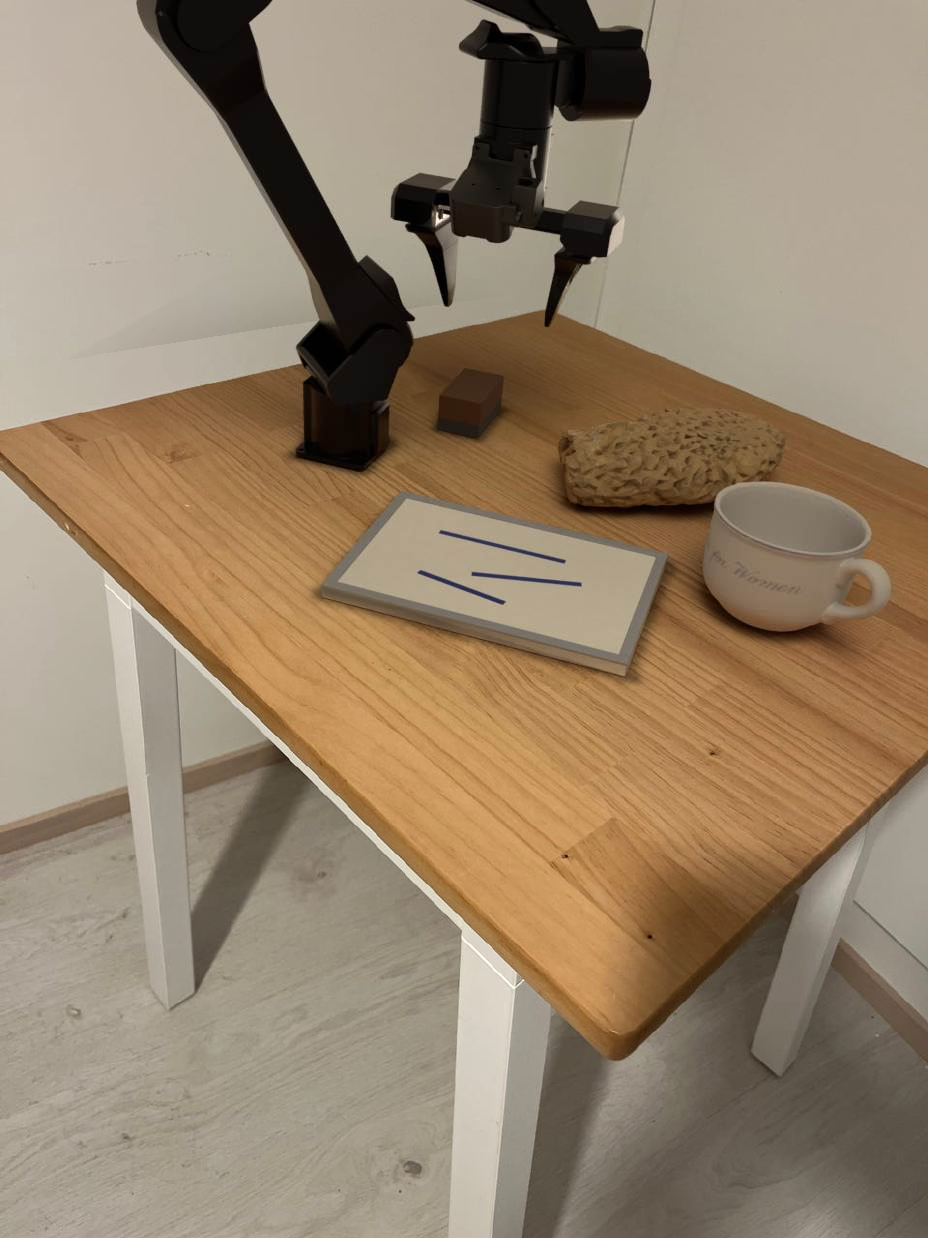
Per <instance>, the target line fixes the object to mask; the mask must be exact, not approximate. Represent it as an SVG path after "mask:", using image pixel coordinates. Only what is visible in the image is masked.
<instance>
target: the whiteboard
mask: <svg viewBox="0 0 928 1238" xmlns="http://www.w3.org/2000/svg"><path fill="white" fill-rule="evenodd" d="M669 554H670V553H668V552H664V551H661V550H657V549H652V548H648V547H643V546H639V545H635V544H630V543H627V542H622V541H617V540H614V539H609V538H605V537H600V536H597V535H592V534H588V533H583V532H580V531H576V530H572V529H571V530H570V529H566V528H562V527H559V526H558V527H557V526H554V525H550V524H546V523H540V522H536V521H532V520H528V519H524V518H519V517H515V516H511V515H507V514H503V513H498V512H494V511H489V510H486V509H481V508H476V507H472V506H468V505H465V504H459V503H456V502H452V501H448V500H443V499H439V498H434V497H430V496H426V495H422V494H417V493H413V492H408V491H404V490H400V491H399V492H398V494H397V495H396V496H395V497H394V498H393V499H392V500H391V502H390V503H389V504H388V505H387V507H386V508H384V510H383V511H382V512H381V514H380V515H379V516H378V517H377V518H376V520H375V521H374V522H373V523H372V524H371V525H370V527H368V529H367V530H366V531H365V533H364V534H363V535H362V536H361V537H360V538H359V539H358V540H357V542H356V543H355V544H354V545H353V546H352V547H351V549H350V550H349V551H348V553H346V554H345V556H344V557H343V558H342V559H341V560H340V562H339V563H338V564H337V565H336V566H335V567H334V569H333V570H332V571H331V572H330V573H329V575H328V576H327V577H326V578H325V579H324V581H322V583H321V598H324V599H327V600H332V601H335V602H339V603H341V604H347V605H350V606H355V607H359V608H362V609H366V610H370V611H373V612H376V613H381V614H385V615H389V616H392V617H396V618H400V619H403V620H408V621H412V622H415V623H418V624H423V625H427V626H431V627H434V628H438V629H441V630H445V631H448V632H452V633H457V634H461V635H465V636H468V637H472V638H476V639H479V640H484V641H487V642H491V643H495V644H499V645H503V646H507V647H509V648H514V649H518V650H521V651H525V652H528V653H533V654H537V655H540V656H544V657H548V658H552V659H555V660H559V661H563V662H567V663H571V664H574V665H579V666H583V667H585V668H590V669H594V670H596V671H601V672H605V673H608V674H613V675H616V676H620V677H624V678H625V677H626V676H627V674H628V671H629V669H630V666H631V663H632V660H633V658H634V655H635V653H636V649H637V647H638V644H639V642H640V638H641V636H642V633H643V630H644V628H645V624H646V622H647V619H648V617H649V613H650V611H651V608H652V606H653V602H654V600H655V597H656V594H657V592H658V589H659V587H660V584H661V581H662V578H663V575H664V572H665V570H666V567H667V563H668V560H669Z"/></svg>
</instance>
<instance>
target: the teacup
mask: <svg viewBox="0 0 928 1238" xmlns="http://www.w3.org/2000/svg"><path fill="white" fill-rule="evenodd" d="M713 509H714V510H713V512H712V513H713V514H712V517H711V521H710V525H709V527H708V532H707V536H706V541H705V544H704V550H703V556H702V576H703V580H704V583H705V585H706V587H707V588H708V590H709V592H710V594H711V595H712V596H713V598H715V599H716V600H717V601H718V603H719V604H720V605H721V607H722V608H723V609H724V610H725V611H726V612H727V613H728V614H729V615H731V616H732V617H734V618H735V619H737V620H738V621H740V622H742V623H744V624H746V625H749V626H751V627H755V628H758V629H761V630H765V631H770V632H780V633H781V632H782V633H783V632H794V631H799V630H802V629H805V628H807V627H810V626H815V625H818V624H820V623H822V624H824V625H834V624H836V623H838V622H839V621H859V620H866V619H869V618H871V617H873V616H876V615H877V614H879V613H881V612H882V611H883V610H884V609H885V608H886V606H887V605H888V603H889V600H890V598H891V596H892V595H891V594H892V583H891V580H890V577H889V574H888V572H887V571H886V569H885V568H883V566H881V564H879V562H875V561H874V560H871V559H867V558H863V556H864V554H865V551H866V548H867V547H868V546H869V544H870V542H871V541H872V535H873V534H872V528H871V526H870V525H869V523H868V521H867V520H866V519H865V517H864V516H863V515H861V514H860V513H859V512H858V511H857V510H855V509H854V508H853V507H851V506H850V505H848V503H847V504H846V503H845V502H843V501H841V500H839V499H838V498H835V497H833V496H832V495H829V494H826V493H824V492H822V491H817V490H814V489H812V488H810V487H809V488H808V487H804V486H800V485H795V484H791V483H785V482H779V481H764V480H762V481H759V482H742V483H737V484H735V485H731V486H729V487H726V488H724V489H723V490H722V491H720V492H719V493H718V494H717V496H716V498H715V501H713ZM856 575H861V576H862V577H864V578H865V579H866V580H867V582H868V584H869V586H870V592H871V594H870V598H869V600H868V601H867V602H866V603H864V604H863V605H854V606H852V605H846V604H845V605H844V602H845V601H846V599H847V597H848V595H849V592H850V590H851V589H852V585H853V583H854V581H855V578H856Z"/></svg>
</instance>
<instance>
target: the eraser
mask: <svg viewBox="0 0 928 1238" xmlns="http://www.w3.org/2000/svg"><path fill="white" fill-rule="evenodd" d="M504 380H505V376H504V375H501V374H496V373H491V372H486V371H481V370H477V369H472V368H467V367H464V368H463V369H462V370H461V371H460V372H459V373H458V375H456V377H454V378H453V380H452V381H450V383H449V384H448V385H447V386H446V387H445V388H444V389H443V390H442V391H441V393H440V394H439V397H438V411H437V413H438V414H437V418H438V419H437V428H436V429H437V431H442V432H446V433H451V434H455V435H460V436H464V437H469V438H474V439H479V438H480V436H482V434H483V433H484V432H485V430H486V429H487V428H488V426H489V425H490V424H491V423H492V422H493V420H494V419H495V418H496V417H497V415H498V414H499V413H500V411H501V410H502V403H503V402H502V401H503V400H502V399H503V391H504V382H505V381H504Z"/></svg>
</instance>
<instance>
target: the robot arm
mask: <svg viewBox="0 0 928 1238" xmlns="http://www.w3.org/2000/svg"><path fill="white" fill-rule="evenodd" d="M464 1H465V2H468V3H469V4H471V5H474V6H476V7H478V8H480V9H482V10H485V11H487V12H489V13H492V14H494V15H496V16H498V17H501V18H505V19H508V20H510V21H513V22H515V23H520V24H522V25H524V26H525V27H526V28H527V29H528V30H529V31H530V32H515V31H514V32H511V31H502V30H501V29H500V27H499V25H498V24H497V23H496V22H494V21H492V20H491V21H490V20H487V19H485V18H482V19H481V20H480V21H479V23H478V25H477V26H476V28H475V29H474V30H473V31H472V32H470V33H469V34H468V35H466V36H465V38H463V39H462V40H461V41H460V42H459V43H458V50H459V51H460V52H461V53H462V54H466V55H468V56H470V57H473V58H475V59H477V60H481V61H483V60H484V65H483V77H482V88H481V89H482V92H481V105H480V116H479V127H478V134H477V135H476V136H474V137H473V144H472V147H471V157H470V159H469V161H468V164H467V167H466V168H465V169H464V170H462V172H461V174H460V175H459V177H458V178H452V177H447V176H441V175H437V174H429V173H424V172H418V173H416V174H414V175H413V176H410V177H408V178H406V179H405V180H403V181H401V182H399V183H398V184H397V185H396V186H395V187H394V188H393V190H392V193H391V197H390V215H389V216H390V218H391V220H393V221H398V222H404V223H405V224H404V228H405V231H406V232H407V233H411V234H414V235H415V236H416V237H417V238H418V239H419V240H420V242H422V244H423V245H424V247H425V249H426V252H427V254H428V257H429V258H430V259H429V260H430V262H431V265H432V269H433V272H434V275H435V279H436V282H437V287H438V290H439V293H440V297H441V300H442V304H443V306H444V307H445V308H450V307H451V306H452V305H453V301H454V296H455V291H456V284H457V283H456V281H457V267H458V253H459V252H458V250H459V239H460V238H466V237H471V238H476V239H480V240H481V239H482V240H486V241H487V242H488V243H492V244H503V243H506V242H507V241H509V240H510V238H511V237H512V235H513V231H514V229H515V228H519V229H524V230H530V231H536V232H541V233H547V234H552V235H557V236H559V242H560V244H561V245H562V247H560V249H558V250H557V252H555V253H554V254H553V256H554V257H553V263H554V264H553V266H554V268H553V274H552V279H551V283H550V288H549V292H548V297H547V301H546V306H545V311H544V321H543V323H544V324H543V326H544V327H545V328H549V327H550V326H551V325H552V324H553V323H554V320H555V318H556V316H557V314H558V312H559V310H560V309H561V306H562V304H563V302H564V300H565V298H566V296H567V294H568V292H569V290H570V288H571V286H572V284H573V282H574V280H575V278H576V276H577V274H578V273H579V272H580V270H581V269H582V267H583V266H589V265H591V264H592V263H594V261H596V259H597V258H598V259H601V258H608V257H609V256H610V255H611V254H612V252H614V250H615V249H616V248H618V246H619V245H620V244H621V243H622V241H623V236H624V230H625V229H624V228H625V224H626V219H625V214H624V212H623V211H622V209H621V207H620V206H615V205H609V204H605V203H599V202H593V201H586V200H579V201H577V202H576V203H575V204H574V205H572V206H571V207H569V209H568V210H563V209H558V208H551V207H547V206H545V201H547V196H548V190H549V189H548V188H549V187H548V186H546V183H547V174H548V167H549V156H550V149H552V148H553V145H554V137H555V134H554V133H552V131H553V123H554V113H555V107H556V108H558V112H559V113H560V115H561V117H562V118H563V119H564V120H566V121H567V122H633V121H635V120H636V119H638V118H639V117H640V116H641V115H642V113H643V112H644V110H645V109H646V106H647V104H648V103H649V102H648V101H649V99H650V95H651V90H652V79H651V78H650V75H651V74H650V64H649V59H648V56H647V53H646V52H645V49H644V48H643V46H642V45H643V38H644V30H643V29H642V28H639V27H635V26H631V25H614V26H611V27H599V26H598V23H597V21H596V19H595V16H594V14H593V11H592V9H591V7H590V3H589V2H588V0H464ZM272 2H273V0H136V2H135V5H136V9H137V14H138V17H139V19H140V21H141V24H142V26H143V28H144V31H146V33H147V34H148V36H149V37H150V38H151V39H152V40H153V41H154V43H155V44H156V45H157V46H158V48H159V49H160V50H161V51H162V53H163V54H164V55H165V56H166V58H167V59H168V60H169V61H170V62H171V63H172V65H173V66H174V67H175V69H176V70H177V71H178V72H179V73H180V74H181V76H182V77H183V78H184V79H185V80H186V81H187V82H188V84H189V85H190V86H191V87H192V88H193V89H194V91H195V92H196V93H197V94H198V95H199V96H200V98H201V99H202V100H203V101H204V102H205V104H206V105H207V106H208V107H209V108H210V109H211V111H212V112H213V113H214V115H215V116H216V118H217V121H218V122H219V124H220V125H221V127H222V129H223V130H224V133H225V134H226V136H227V137H228V139H229V141H230V143H231V145H232V146H233V148H234V150H235V151H236V153H237V155H238V157H239V158H240V160H241V162H242V164H243V165H244V167H245V168H246V170H247V172H248V174H249V176H250V178H251V179H252V181H253V182H254V184H255V186H256V188H257V190H258V191H259V193H260V195H261V196H262V198H263V200H264V201H265V203H266V205H267V207H268V209H269V210H270V213H271V214H272V216H273V218H274V219H275V221H276V222H277V224H278V226H279V228H280V229H281V231H282V233H283V235H284V236H285V238H286V240H287V241H288V243H289V245H290V246H291V248H292V250H293V252H294V254H295V255H296V258H297V259H298V261H299V263H300V264H301V266H302V268H303V270H304V271H305V274H306V277H307V281H308V285H309V289H310V295H311V300H312V303H313V306H314V308H315V311H316V314H317V317H318V319H319V320H318V321H317V322H316V323H315V324H314V325H313V326H312V328H311V329H309V331H308V332H307V333H306V334H305V335H304V336H303V337H302V338H301V339H300V341H299V342H297V344H296V346H295V351H296V353H297V356H298V357H299V359H300V363H301V365H302V367H303V368H304V369H305V370H307V371H308V373H309V374H310V376H308V377H307V378H306V379H305V380H304V381H303V382H302V404H303V405H302V409H303V411H302V413H303V415H302V416H303V418H302V419H303V441H302V442H301V443H300V444H299V445H298V446H297V447H295V455H296V456H297V457H299V458H300V457H301V458H305V459H309V460H314V461H318V462H323V463H327V464H330V465H334V466H340V467H344V468H348V469H352V470H356V471H363V470H366V469H367V468H368V466H369V465H370V464H371V463H372V462H373V461H374V460H375V459H376V458H377V457H378V456H379V455H380V454H381V453H382V452H383V451H384V450H385V449H386V448H387V447H388V445H389V444H390V443H391V436H390V407H391V405H390V403H389V401H386V400H387V399H388V398H389V395H390V393H391V391H392V387H393V385H394V383H395V380H396V377H397V374H398V372H399V369H400V368H401V367H403V365H404V364H405V363H406V361H407V360H408V358H409V357H410V353H411V350H412V347H413V346H414V344H415V339H414V333H413V330H412V327H411V325H410V324H409V322H415V321H416V316H414V315H413V313H411V312H410V311H409V310H408V309H407V308H406V306H404V303H403V301H402V298H401V295H400V291H399V288H398V286H397V283H396V281H395V279H394V277H393V276H392V275H391V274H390V273H388V272H387V271H386V270H385V269H384V268H383V267H382V266H380V264H378V263H377V262H376V261H375V260H374V259H373V258H371V256H369V255H368V254H365V256H363V257H362V258H361V259H360V260H359V261H358V259H356V256H355V255H354V253H353V251H352V249H351V247H350V245H349V244H348V241H347V239H346V238H345V236H344V234H343V232H342V230H341V228H340V227H339V225H338V223H337V221H336V219H335V217H334V215H333V213H332V211H331V210H330V208H329V206H328V204H327V202H326V201H325V198H324V197H323V194H322V192H321V191H320V189H319V187H318V185H317V183H316V181H315V180H314V178H313V176H312V174H311V172H310V170H309V169H308V166H307V164H306V163H305V160H304V159H303V157H302V154H301V153H300V152H299V151H300V150H299V149H298V147H297V146H296V144H295V142H294V140H293V138H292V136H291V134H290V132H289V130H288V129H287V127H286V125H285V123H284V121H283V119H282V118H281V116H280V114H279V112H278V109H277V108H276V106H275V104H274V102H273V101H272V99H271V96H270V94H269V92H268V89H267V85H266V80H265V79H266V78H265V75H264V70H263V65H262V61H261V57H260V51H259V48H258V45H257V42H256V39H255V36H254V33H253V30H252V27H251V25H250V23H251V22H252V21H254V19H255V18H256V17H258V16H259V14H261V13H262V12H264V10H266V9H267V8H268V7H269V6H270V5H271V3H272ZM531 32H534V33H537V34H540V35H542V36H546V37H549V38H551V39H555V40H557V42H556V46H542V44H541V42H540V40H539V39H538V38H537V36H536V35H535V34H533V33H531Z"/></svg>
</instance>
